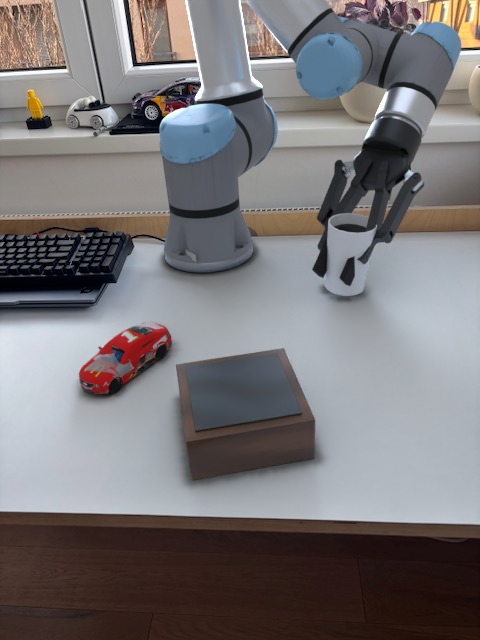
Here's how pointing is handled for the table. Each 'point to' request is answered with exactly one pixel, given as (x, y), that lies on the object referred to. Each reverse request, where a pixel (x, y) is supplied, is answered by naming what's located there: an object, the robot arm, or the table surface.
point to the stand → (244, 413)
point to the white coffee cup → (347, 251)
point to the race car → (124, 357)
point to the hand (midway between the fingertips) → (331, 277)
